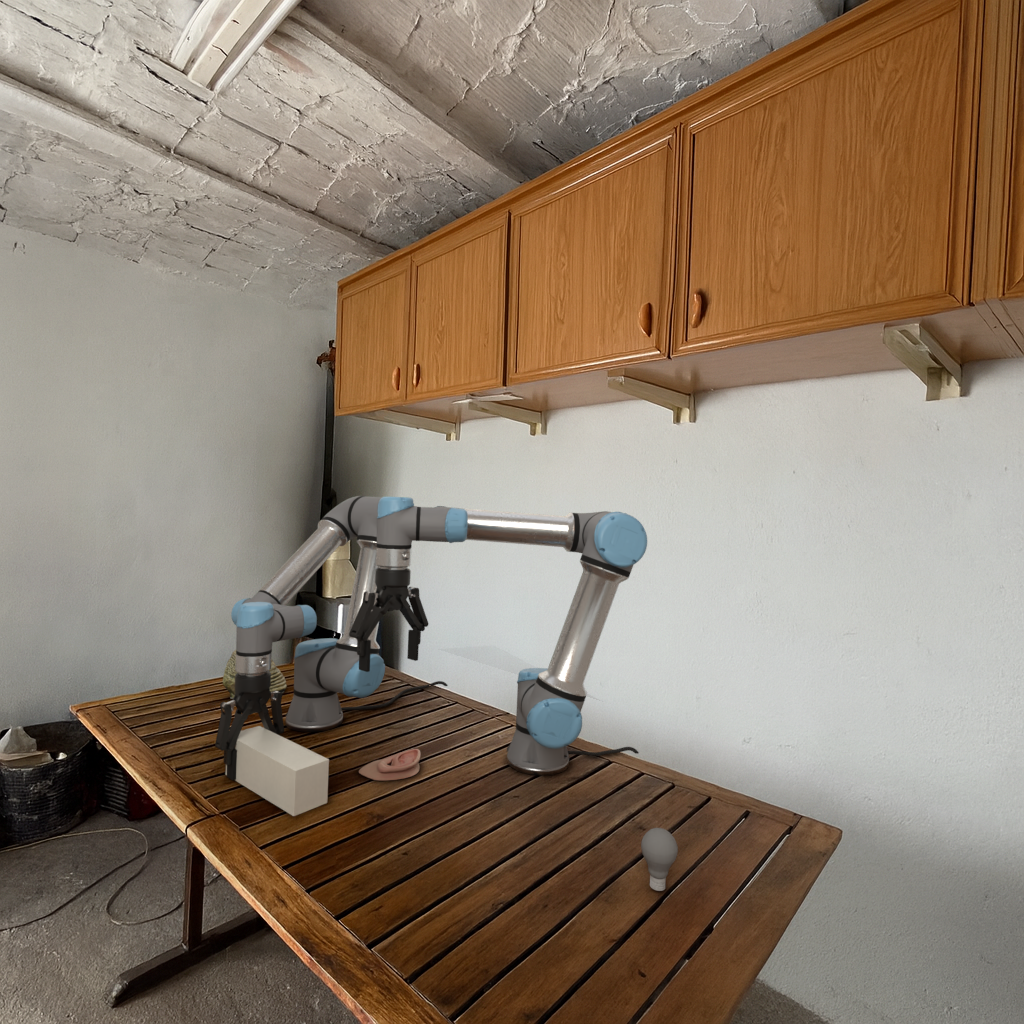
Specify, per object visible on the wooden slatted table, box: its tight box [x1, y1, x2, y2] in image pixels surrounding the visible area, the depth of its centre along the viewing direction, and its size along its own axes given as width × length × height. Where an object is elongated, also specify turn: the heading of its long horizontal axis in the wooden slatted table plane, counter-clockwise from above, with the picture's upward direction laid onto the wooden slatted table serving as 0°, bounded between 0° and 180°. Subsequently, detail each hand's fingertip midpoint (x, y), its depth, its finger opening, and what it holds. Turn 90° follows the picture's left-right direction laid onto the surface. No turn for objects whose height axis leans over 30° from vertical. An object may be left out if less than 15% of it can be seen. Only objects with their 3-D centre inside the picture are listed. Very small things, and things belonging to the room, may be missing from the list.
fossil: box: [222, 649, 288, 699], centre depth 198 cm, size 9×18×15 cm, turn 132°
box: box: [225, 725, 330, 817], centre depth 137 cm, size 27×8×9 cm, turn 51°
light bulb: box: [640, 827, 679, 892], centre depth 106 cm, size 6×6×10 cm
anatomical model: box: [358, 748, 422, 782], centre depth 147 cm, size 13×4×12 cm
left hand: (249, 771), depth 143 cm, fingers closed on box, 8 cm apart
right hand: (389, 664), depth 138 cm, fingers open, 13 cm apart
